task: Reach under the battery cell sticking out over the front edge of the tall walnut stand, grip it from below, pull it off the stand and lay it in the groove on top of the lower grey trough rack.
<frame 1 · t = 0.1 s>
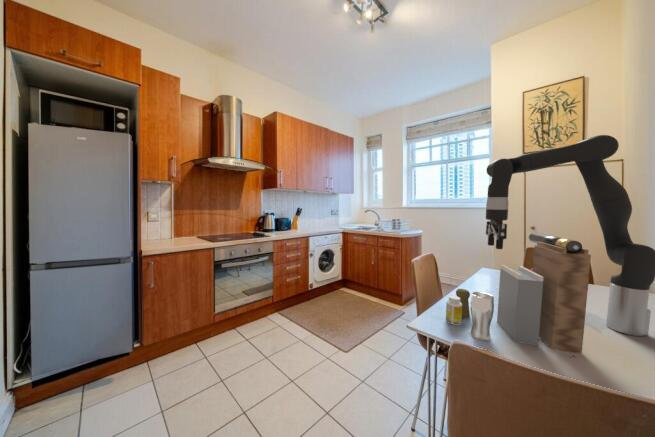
hand: (494, 247, 101), 29 cm above the table, tool pointing down, fingers open, 8 cm apart
trough rack: (515, 332, 89), on the table
tall stand: (552, 339, 85), on the table
supplement bottle: (453, 322, 96), on the table
beer glass: (480, 336, 87), on the table
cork: (461, 315, 103), on the table
battery cell: (551, 247, 87), point 32 cm above the table, touching tall stand
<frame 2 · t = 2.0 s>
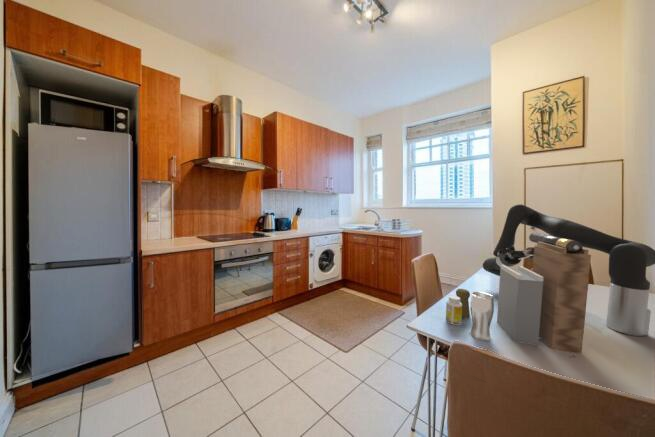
hand: (525, 248, 104), 28 cm above the table, tool pointing upward, fingers open, 8 cm apart
nothing on the table moved.
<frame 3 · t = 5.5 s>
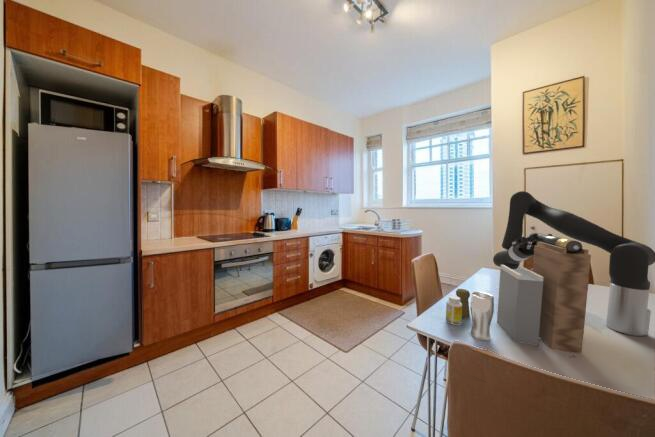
hand: (543, 236, 92), 35 cm above the table, tool pointing upward, fingers closed on battery cell, 4 cm apart
battery cell: (551, 247, 87), point 32 cm above the table, touching gripper, tall stand
everything else where it was.
when the fingers open (27 cm above the table, at t = 13.8 s): battery cell drops 1 cm, resting on trough rack.
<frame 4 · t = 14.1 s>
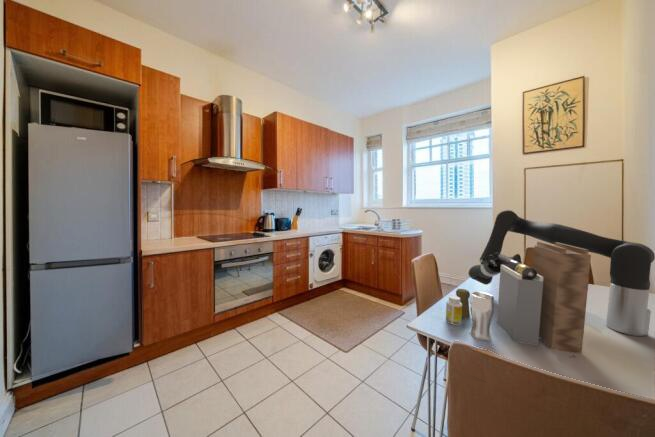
hand: (507, 255, 97), 27 cm above the table, tool pointing upward, fingers open, 7 cm apart
battery cell: (513, 270, 92), point 22 cm above the table, touching trough rack
everything else where it was.
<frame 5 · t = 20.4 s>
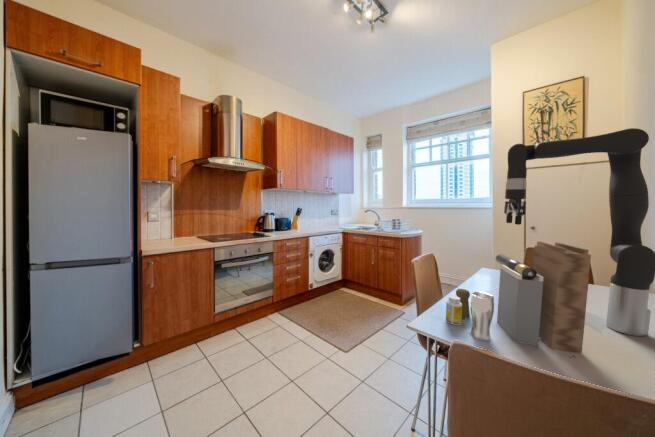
hand: (513, 223, 113), 38 cm above the table, tool pointing down, fingers open, 8 cm apart
nothing on the table moved.
at the end: battery cell inside the target area (0.6 cm from its centre), point 22.0 cm above the table; battery cell touching trough rack; the gripper is holding nothing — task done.
